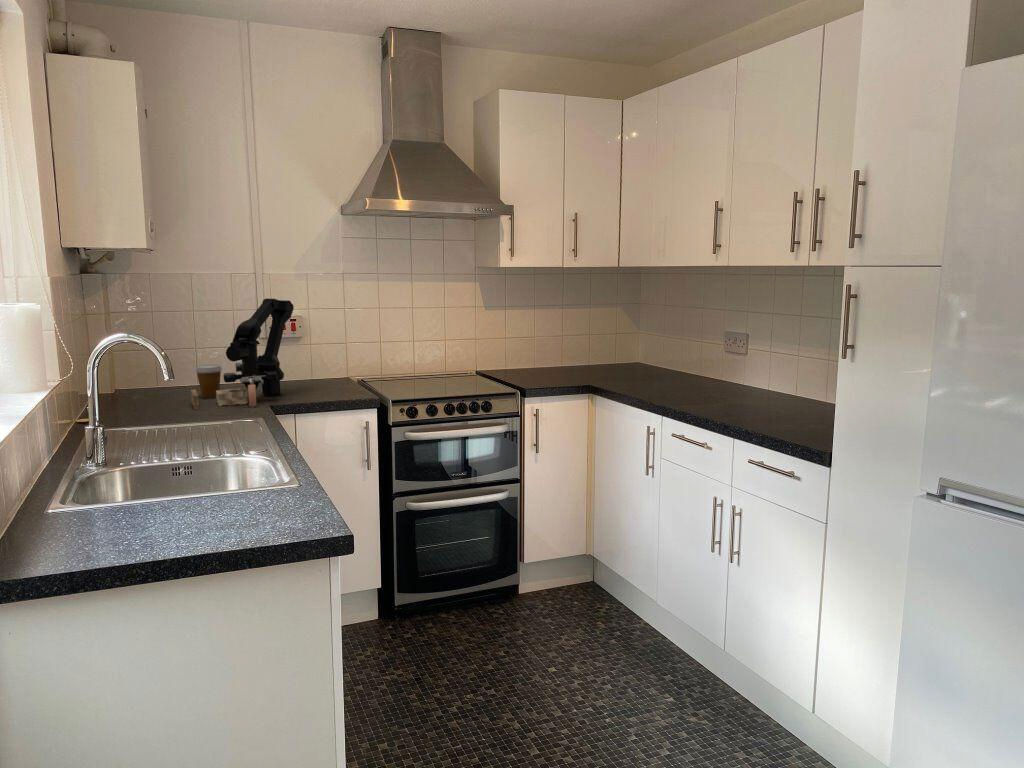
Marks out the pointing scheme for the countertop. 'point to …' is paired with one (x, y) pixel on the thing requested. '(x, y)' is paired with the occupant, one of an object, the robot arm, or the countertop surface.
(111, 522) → the countertop surface
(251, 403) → the dowel
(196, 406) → the wall
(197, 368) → the disposable coffee cup
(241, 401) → the block
